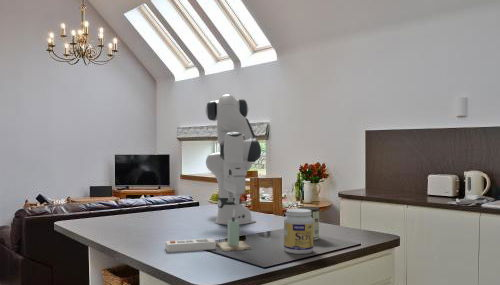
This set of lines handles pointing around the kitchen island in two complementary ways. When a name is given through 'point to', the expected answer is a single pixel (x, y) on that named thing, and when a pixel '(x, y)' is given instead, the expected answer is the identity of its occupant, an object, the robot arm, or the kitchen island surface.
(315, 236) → the coffee can
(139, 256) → the kitchen island surface
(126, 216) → the kitchen island surface
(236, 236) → the grey-green tall block
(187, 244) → the power strip
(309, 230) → the supplement tub
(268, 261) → the kitchen island surface
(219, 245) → the coaster
